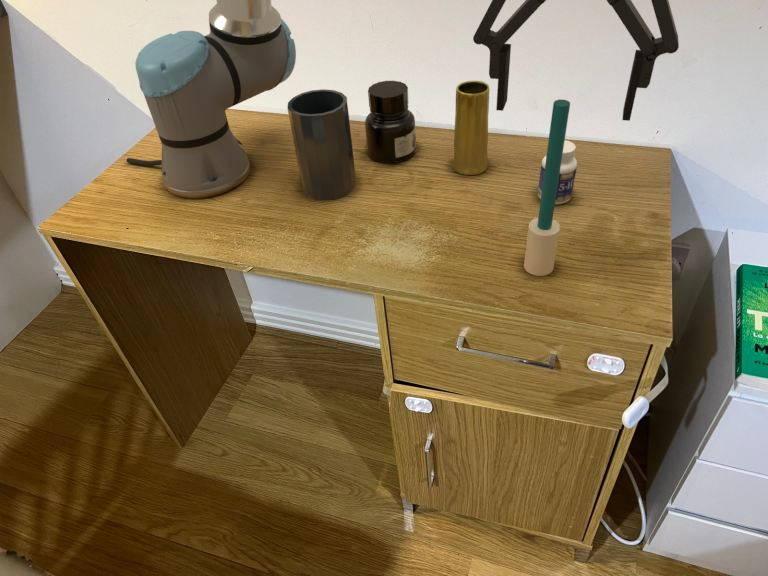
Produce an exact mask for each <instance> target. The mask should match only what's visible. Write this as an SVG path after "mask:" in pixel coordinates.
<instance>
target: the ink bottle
mask: <svg viewBox="0 0 768 576" xmlns="http://www.w3.org/2000/svg"><path fill="white" fill-rule="evenodd" d="M367 96H368V107H369V112H370V113H369V114H368V115H367V116H366V118H365V121H364V127H365V139H366V149H367V154H368V156H369V158H371V159H372V160H374V161H377V162H381V163H399V162H403V161H406V160H408V159H410V158H411V157H412V156H414V154H415V153H416V150H417V137H416V117H415V115H414V114H413V112H412V111H411V110H410V109H409V86H408V85H407V84H406V83H404V82H402V81H398V80H383V81H378V82H376V83H373V84H372V85H370V86H369V87H368V90H367Z"/></svg>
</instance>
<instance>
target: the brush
mask: <svg viewBox="0 0 768 576" xmlns="http://www.w3.org/2000/svg"><path fill="white" fill-rule="evenodd" d="M570 107H571V102H570V101H569V100H566V99H556V100H554V101H553V104H552V111H551V120H550V127H549V134H548V141H547V148H546V155H547V156H546V155H545V156H546V164H545V171H544V179H543V186H542V194H541V199H540V201H539V210H538V211H539V212H538V217H536V218H533V219H532V220H530V221H529V224H528V228H527V234H526V235H527V237H526V243H525V253H524V262H523V268H524V270H525V271H526V272H527V273H528V274H530V275H533V276H535V277H543V276H548V275H550V274H551V273H552V272H553V270H554V267H555V261H556V255H557V251H558V250H557V248H558V243H559V237H560V231H561V225H560V224H559V222H558V221H556V220H555V219H554V213H555V212H554V211H555V206H556V204H555V200H556V194H557V187H558V180H559V174H560V167H561V161H562V154H563V148H564V141H565V140H566V134H567V127H568V121H569V114H570V109H571V108H570Z"/></svg>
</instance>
